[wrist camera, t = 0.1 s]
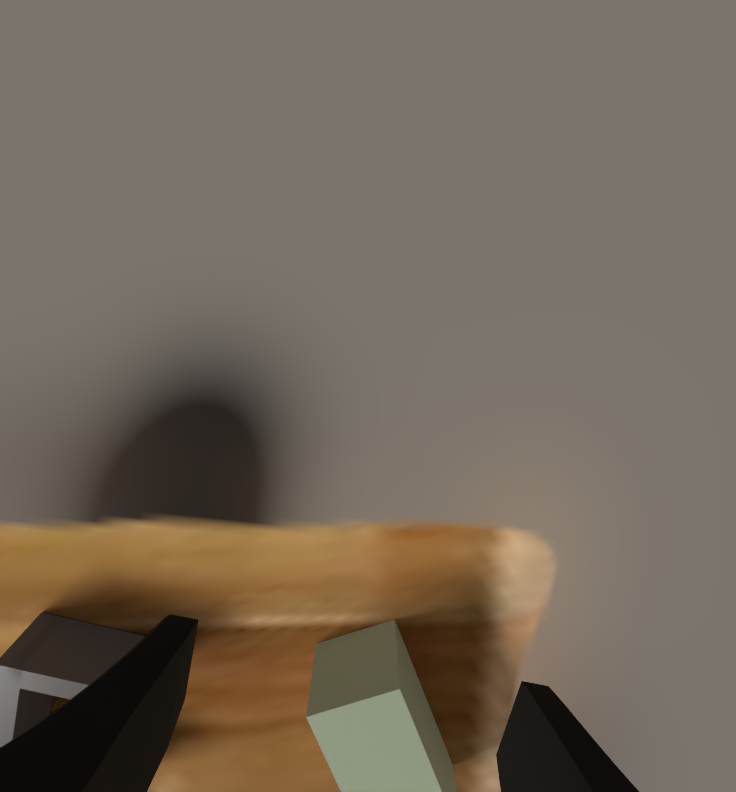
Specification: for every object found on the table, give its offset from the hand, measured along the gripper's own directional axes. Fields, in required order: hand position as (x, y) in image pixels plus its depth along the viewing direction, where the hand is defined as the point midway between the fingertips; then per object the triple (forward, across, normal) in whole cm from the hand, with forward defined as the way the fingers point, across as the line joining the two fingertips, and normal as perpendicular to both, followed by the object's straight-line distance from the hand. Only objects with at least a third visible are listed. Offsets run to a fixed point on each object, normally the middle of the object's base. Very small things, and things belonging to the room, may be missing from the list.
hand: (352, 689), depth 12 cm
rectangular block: (+10, -3, +9) cm, 14 cm away
